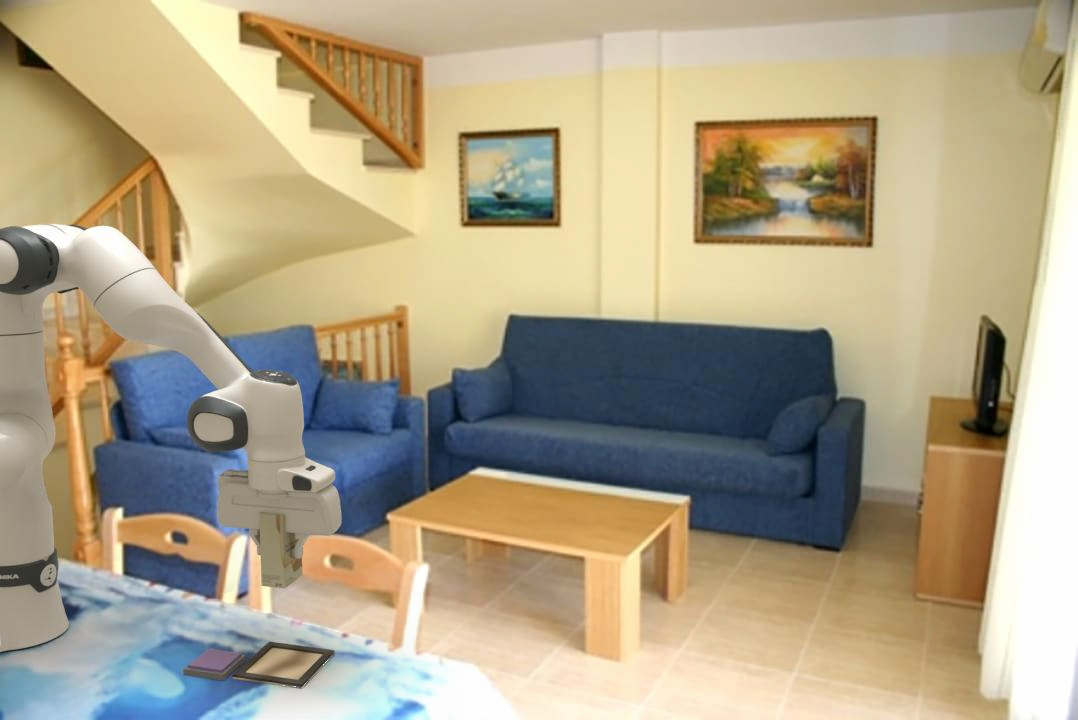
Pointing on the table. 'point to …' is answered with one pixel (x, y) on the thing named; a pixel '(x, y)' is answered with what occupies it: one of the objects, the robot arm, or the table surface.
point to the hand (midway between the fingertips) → (280, 555)
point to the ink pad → (215, 664)
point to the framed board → (283, 664)
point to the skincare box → (277, 552)
